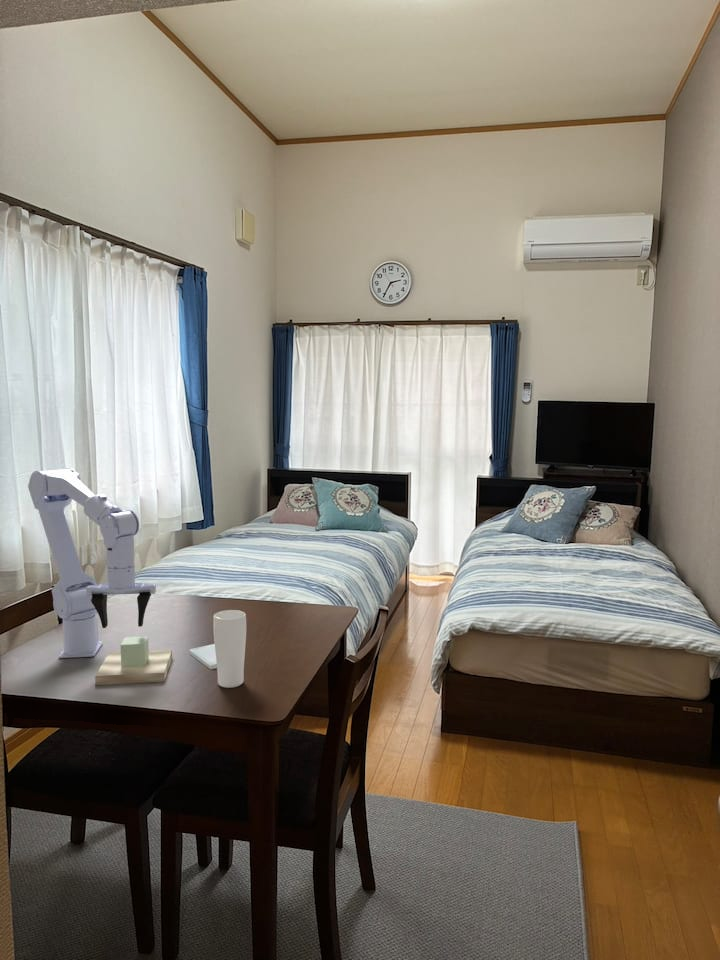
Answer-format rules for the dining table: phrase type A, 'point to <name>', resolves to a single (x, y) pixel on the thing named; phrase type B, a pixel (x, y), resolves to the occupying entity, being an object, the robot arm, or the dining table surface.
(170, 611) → the dining table surface
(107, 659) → the birch base
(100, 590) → the robot arm
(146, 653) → the sage cube
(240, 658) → the drinking glass
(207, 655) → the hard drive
